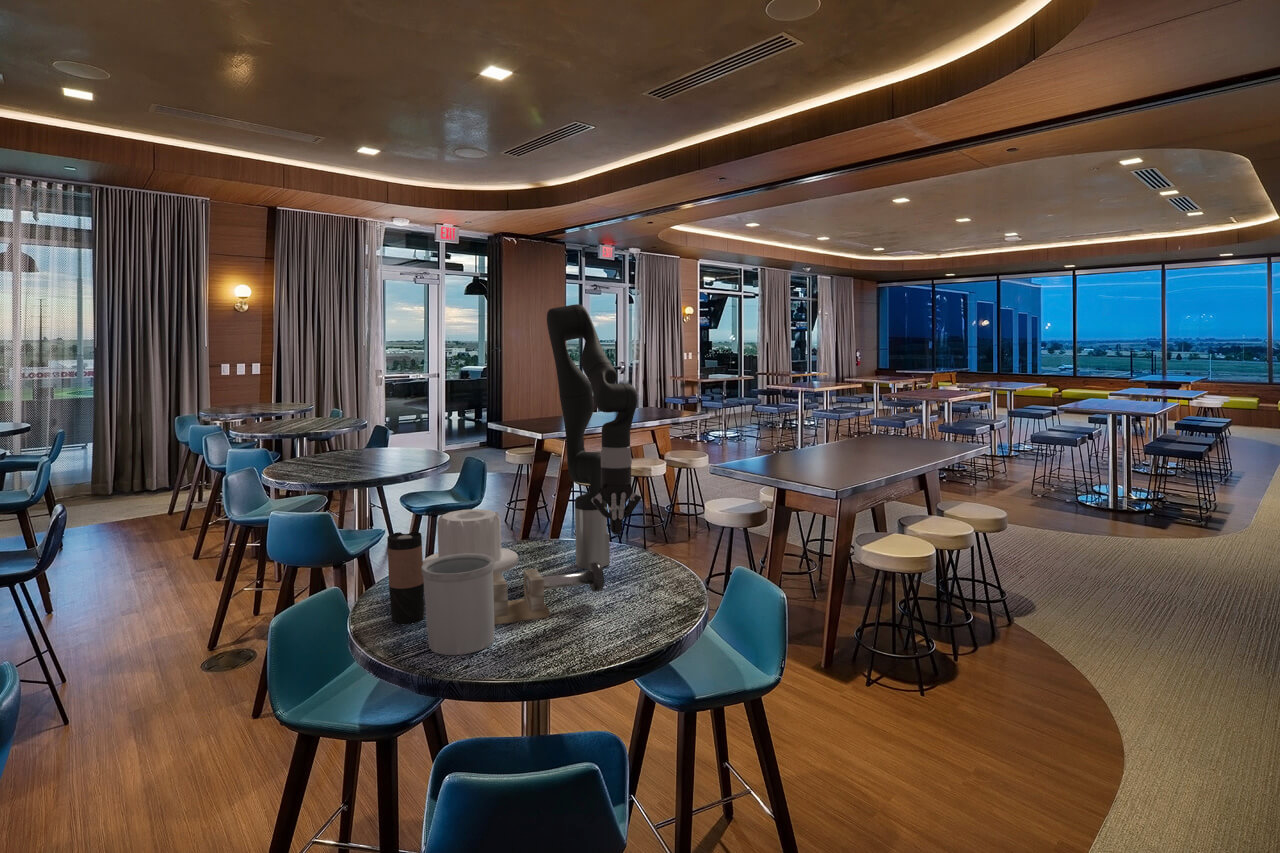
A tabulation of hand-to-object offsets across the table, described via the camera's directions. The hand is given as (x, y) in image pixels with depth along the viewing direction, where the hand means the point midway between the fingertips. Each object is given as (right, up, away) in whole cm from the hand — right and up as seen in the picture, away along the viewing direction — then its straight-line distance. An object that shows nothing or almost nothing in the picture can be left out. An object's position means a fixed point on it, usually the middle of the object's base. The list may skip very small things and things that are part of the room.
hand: (616, 533), depth 170 cm
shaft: (-13, -14, -3) cm, 19 cm away
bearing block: (-24, -18, -7) cm, 31 cm away
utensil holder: (-32, -20, -23) cm, 45 cm away
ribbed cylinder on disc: (-39, -16, +14) cm, 45 cm away
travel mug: (-48, -19, -10) cm, 53 cm away
